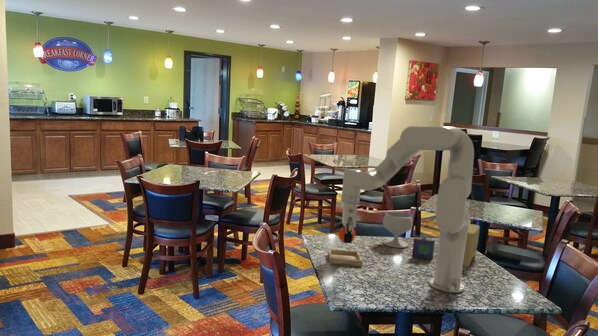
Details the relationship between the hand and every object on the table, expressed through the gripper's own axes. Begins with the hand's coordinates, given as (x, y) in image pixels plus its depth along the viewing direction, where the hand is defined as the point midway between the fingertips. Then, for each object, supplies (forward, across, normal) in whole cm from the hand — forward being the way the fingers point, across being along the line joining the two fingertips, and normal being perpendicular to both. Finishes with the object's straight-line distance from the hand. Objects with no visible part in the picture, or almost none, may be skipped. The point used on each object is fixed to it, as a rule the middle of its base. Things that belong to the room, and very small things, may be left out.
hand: (346, 239), depth 195 cm
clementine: (+2, 0, 0) cm, 2 cm away
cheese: (+9, +13, -56) cm, 59 cm away
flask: (+9, +11, -36) cm, 39 cm away
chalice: (+9, +30, -28) cm, 42 cm away
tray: (+9, 0, 0) cm, 9 cm away
